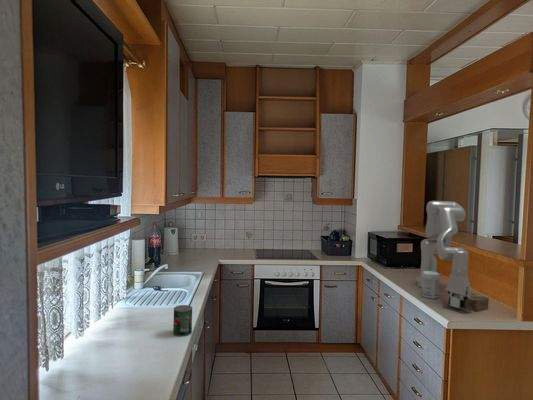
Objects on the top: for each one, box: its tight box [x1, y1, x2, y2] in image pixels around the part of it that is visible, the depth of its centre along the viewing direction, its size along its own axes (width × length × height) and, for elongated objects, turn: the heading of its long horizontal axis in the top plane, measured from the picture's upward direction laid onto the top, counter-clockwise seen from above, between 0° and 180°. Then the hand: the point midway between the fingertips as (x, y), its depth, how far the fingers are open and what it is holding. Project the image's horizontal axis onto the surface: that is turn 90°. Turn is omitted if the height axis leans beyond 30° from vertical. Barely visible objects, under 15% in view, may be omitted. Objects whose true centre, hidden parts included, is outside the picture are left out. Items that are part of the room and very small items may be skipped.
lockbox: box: [448, 292, 490, 312], centre depth 224 cm, size 16×12×6 cm
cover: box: [449, 295, 461, 308], centre depth 216 cm, size 5×5×6 cm
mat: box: [442, 304, 472, 315], centre depth 217 cm, size 12×7×1 cm, turn 33°
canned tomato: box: [172, 304, 193, 337], centre depth 171 cm, size 8×8×11 cm
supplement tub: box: [421, 271, 440, 300], centre depth 239 cm, size 10×10×15 cm
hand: (457, 305), depth 216 cm, fingers closed on cover, 5 cm apart
